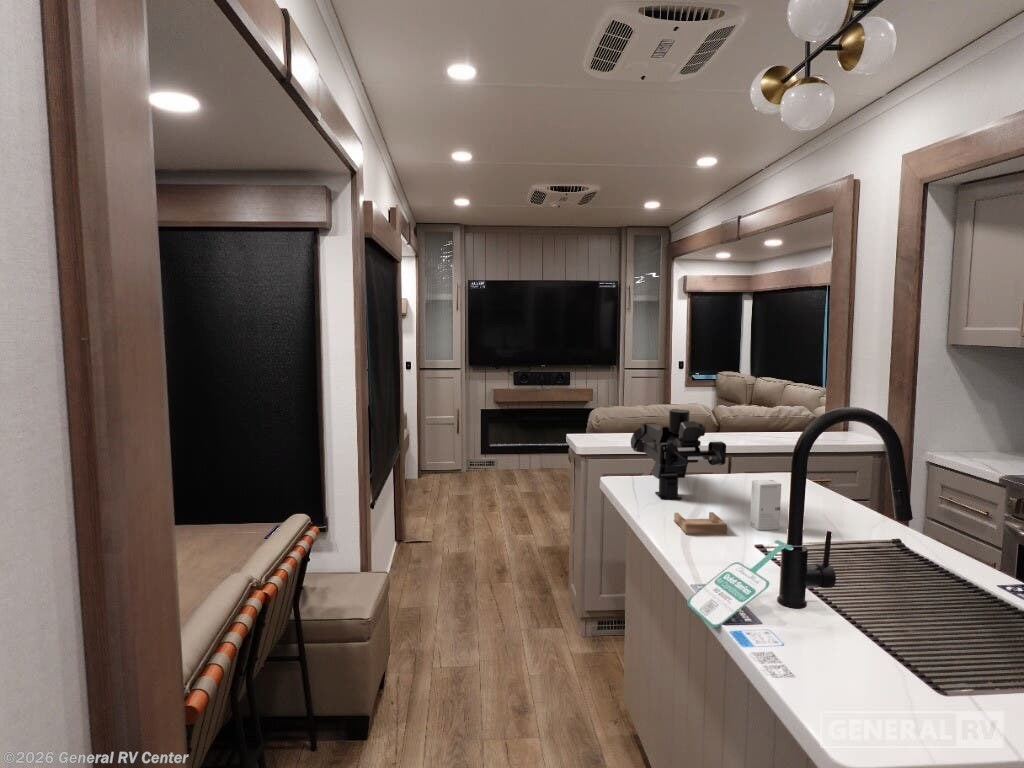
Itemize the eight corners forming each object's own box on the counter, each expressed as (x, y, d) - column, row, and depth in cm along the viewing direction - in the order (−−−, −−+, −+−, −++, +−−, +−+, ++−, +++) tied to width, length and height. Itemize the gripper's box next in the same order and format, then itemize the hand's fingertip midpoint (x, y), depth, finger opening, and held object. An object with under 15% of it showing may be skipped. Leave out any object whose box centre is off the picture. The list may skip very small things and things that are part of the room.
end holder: (673, 521, 159) (673, 512, 159) (711, 520, 160) (712, 511, 159) (686, 534, 149) (686, 525, 149) (727, 534, 149) (727, 524, 149)
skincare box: (758, 530, 152) (760, 484, 150) (749, 525, 156) (750, 480, 155) (780, 529, 153) (782, 483, 151) (770, 523, 157) (772, 479, 156)
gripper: (651, 420, 169) (671, 433, 153) (714, 419, 170) (740, 431, 155) (649, 458, 170) (669, 474, 155) (712, 456, 172) (737, 472, 157)
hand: (704, 462), depth 155 cm, fingers open, 9 cm apart
